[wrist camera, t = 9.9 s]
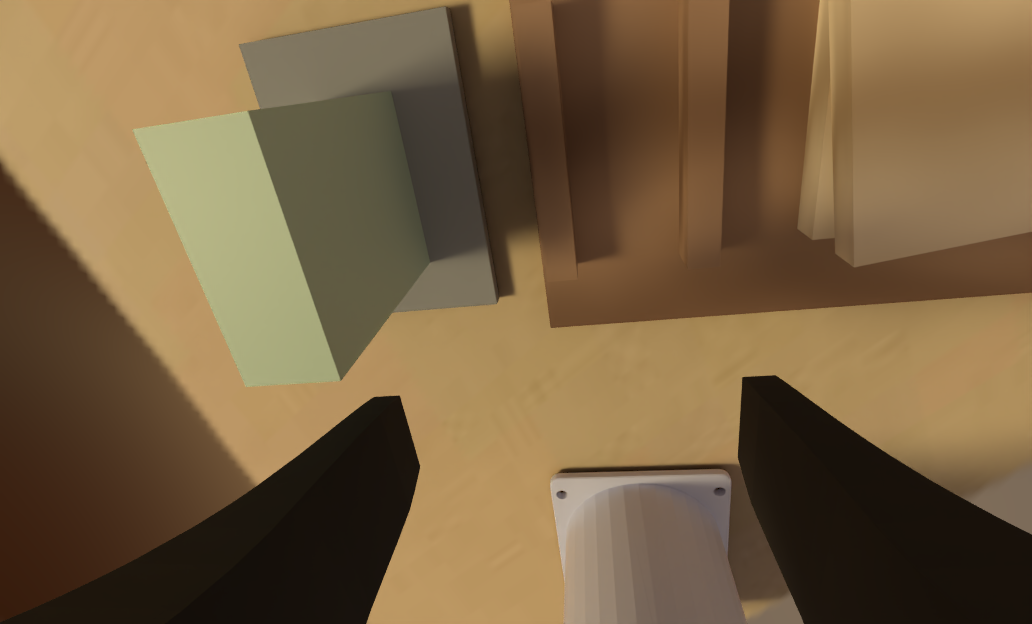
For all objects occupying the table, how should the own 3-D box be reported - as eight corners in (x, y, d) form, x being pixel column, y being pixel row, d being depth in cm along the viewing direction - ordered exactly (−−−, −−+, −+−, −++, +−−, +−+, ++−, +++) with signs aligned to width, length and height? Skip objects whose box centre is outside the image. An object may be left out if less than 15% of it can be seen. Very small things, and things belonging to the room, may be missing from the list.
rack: (1076, 276, 17) (1150, 307, 15) (552, 316, 20) (548, 347, 18) (1259, -242, 12) (1420, -314, 9) (502, -83, 15) (488, -110, 12)
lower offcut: (968, 211, 16) (997, 222, 15) (797, 228, 17) (812, 239, 16) (1034, -58, 13) (1075, -69, 12) (821, -22, 14) (842, -29, 13)
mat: (499, 297, 20) (496, 304, 19) (336, 311, 21) (330, 317, 21) (449, 8, 16) (445, 6, 15) (249, 45, 17) (238, 44, 16)
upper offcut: (1024, 214, 15) (1060, 225, 13) (834, 253, 16) (854, 267, 15) (1062, -73, 12) (1110, -86, 11) (828, 0, 13) (850, -6, 12)
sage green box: (430, 262, 19) (340, 380, 12) (368, 268, 19) (245, 386, 12) (390, 91, 16) (247, 110, 9) (321, 102, 17) (132, 129, 10)
